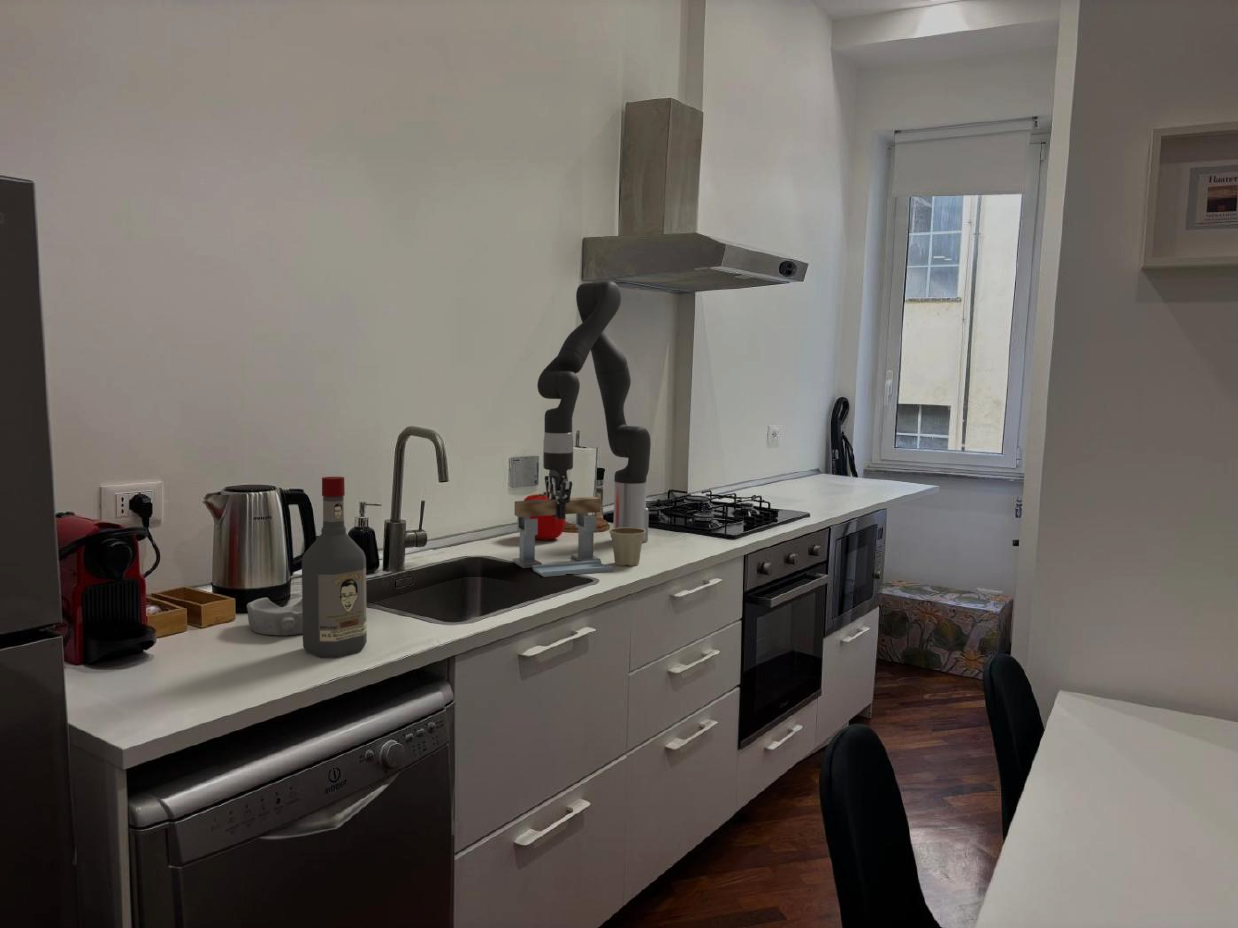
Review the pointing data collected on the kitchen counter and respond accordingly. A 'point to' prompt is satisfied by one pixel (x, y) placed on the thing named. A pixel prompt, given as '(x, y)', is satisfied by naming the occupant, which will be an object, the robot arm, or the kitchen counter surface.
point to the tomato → (547, 522)
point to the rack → (529, 530)
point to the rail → (549, 506)
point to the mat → (571, 568)
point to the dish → (275, 618)
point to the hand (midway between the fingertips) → (557, 517)
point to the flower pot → (627, 545)
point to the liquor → (334, 583)
